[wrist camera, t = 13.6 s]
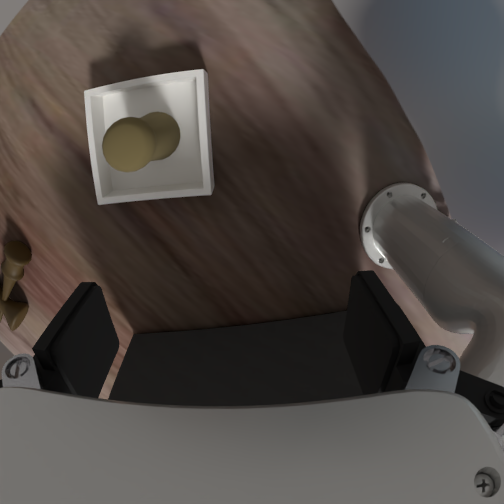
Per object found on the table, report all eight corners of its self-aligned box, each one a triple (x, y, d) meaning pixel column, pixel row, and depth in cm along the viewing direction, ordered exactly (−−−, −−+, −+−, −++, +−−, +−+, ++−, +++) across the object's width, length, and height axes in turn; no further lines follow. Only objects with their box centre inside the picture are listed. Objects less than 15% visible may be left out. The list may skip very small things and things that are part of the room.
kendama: (49, 260, 42) (23, 329, 47) (10, 225, 39) (-9, 299, 45) (29, 277, 36) (9, 346, 42) (-11, 238, 34) (-25, 315, 39)
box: (207, 73, 31) (203, 69, 28) (214, 186, 37) (211, 194, 34) (98, 91, 31) (84, 90, 28) (110, 195, 37) (98, 205, 34)
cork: (124, 130, 33) (81, 140, 23) (164, 101, 32) (132, 98, 22) (149, 169, 36) (115, 193, 26) (190, 143, 34) (168, 155, 24)
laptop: (179, 420, 58) (164, 531, 34) (133, 328, 47) (79, 472, 23) (351, 402, 57) (382, 513, 33) (364, 301, 46) (435, 447, 21)
